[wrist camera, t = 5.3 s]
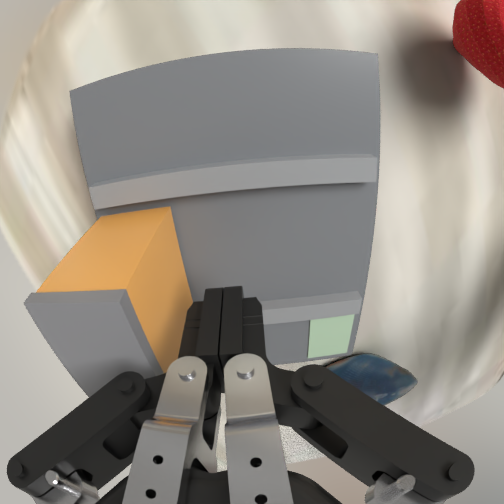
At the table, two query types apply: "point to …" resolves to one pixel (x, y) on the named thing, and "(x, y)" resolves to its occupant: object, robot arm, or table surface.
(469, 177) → the table surface
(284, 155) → the panel
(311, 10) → the table surface
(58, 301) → the breaker toggle
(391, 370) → the seashell
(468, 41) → the strawberry
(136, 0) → the table surface
